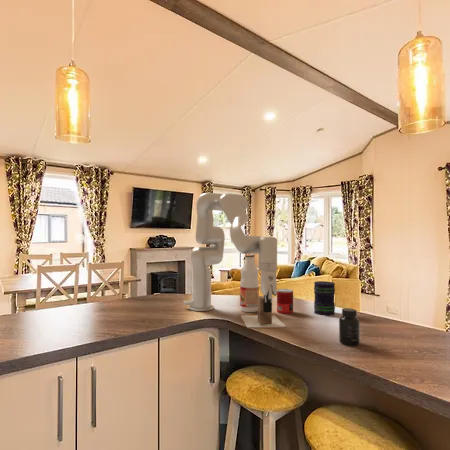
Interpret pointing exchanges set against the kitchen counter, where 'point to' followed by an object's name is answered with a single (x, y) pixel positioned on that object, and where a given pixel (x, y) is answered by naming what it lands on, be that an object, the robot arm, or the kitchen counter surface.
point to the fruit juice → (249, 286)
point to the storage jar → (324, 298)
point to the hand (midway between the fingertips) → (267, 311)
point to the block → (263, 314)
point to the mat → (253, 323)
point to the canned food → (285, 301)
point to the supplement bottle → (349, 328)
